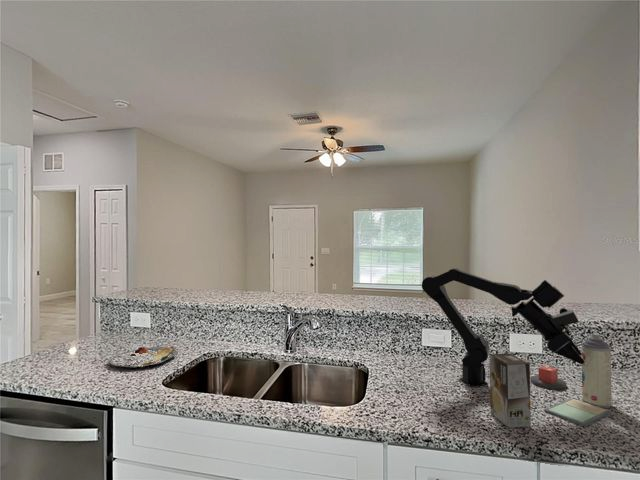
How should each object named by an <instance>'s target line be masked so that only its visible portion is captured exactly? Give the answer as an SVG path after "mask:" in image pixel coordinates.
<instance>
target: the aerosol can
mask: <svg viewBox="0 0 640 480" xmlns="http://www.w3.org/2000/svg"><path fill="white" fill-rule="evenodd" d="M581 344H582V345H581V353H582V354H581V358H582V359H583V360H584V361H585V363H583V364H581V391H582V392H581V394H582V395H581V396H582V400H581V401H582V402H585V403H588V404H591V405H594V406H597V407H600V408H603V409H606V410H609V409H611V408H612V407H613V404H612V403H613V402H612V401H613V399H612V349H611V345H609V344H607V343H606V341H604V340H603V339H602V338H601V336H600V334H599V333H594V332H593V333H591V337H590V338H588V339H586V340H585V341H583V342H582V343H581Z"/></svg>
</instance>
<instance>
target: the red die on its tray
mask: <svg viewBox="0 0 640 480" xmlns="http://www.w3.org/2000/svg"><path fill="white" fill-rule="evenodd" d="M558 377H559V375H558V368H555V367H552V366H547V365H542V366H540V367H538V375H533V376H530V383H531V384H533V385H535V386H537V387H540V388H542V389H547V390H556V391H557V390H559V391H560V390H564V389H566V388H567V382H566V381H565V380H564V379H561V378H558Z"/></svg>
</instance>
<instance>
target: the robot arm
mask: <svg viewBox="0 0 640 480" xmlns="http://www.w3.org/2000/svg"><path fill="white" fill-rule="evenodd" d="M452 282H456V283H457V282H458V283H460V284H463V285H466V286H468V287H471V288H474V289H477V290H479V291H482V292H486V293H488V294H490V295H491V296H493V297H495V298H497V299H498V300H500V301H501V302H504V303H506V304H507V305H511V308H510V310H511V316H512V318H514V317H516V316H517V315H518V314H519V315H520V316H521V317H522V318H523V319H524V320H526V322H528V324H530V325H531V326H532V329H533V330H534V331H537V332H538V333H539V334H540V335H541V336H542V337H543V339H544V340H545V341H546V344H547V346H546V347H547V349H548V350H549V351H550V352H551V353H554V354H556V355H559V356H561V357H563V358H566V359H568V360H571V361H574V362H575V363H576V364H577V363H578V364H580V365H582V364H583V363H585V361H584V360H583V359H582V351H580V349H579V348H578V346H577V345H576V344H575V342H574V341H573V338H572V337H570V330H569V328H568V326H570V325H572V324H573V325H574V324H578V323H579V322H580V321H579V319H578V317H577V315H576V313H575V311H574V310H573V309H569V310H568V309H567V308H565V307H562V308H559V313H556V314H555V315H552V314H551V313H547V312H546V311H545V310H544V308H545V309H546V308H548V309H550V308H552V307H553V306H554V305H555V304H556V303H557V302H559V301H560V300H561V299H563V298H564V297H565V295H564V294H563V293H562V291H560V289H558V288H557V287H556V286H555V285H552V283H550V282H549V281H547V280H546V279H544V280H543V281H542V282H541V283H540V284H538V286H537V287H536V288H535V289H533V290H529V289H522V288H520V286H518V285H516V284H510V283H505V282H499V281H498V282H497V281H492V280H489V279H487V278H483V277H481V276H477V275H475V274H472V273H469V272H466V271H462V270H461V269H459V268H457V267H456V268H455V267H454V268H451V269H448V271H445V272H444V273H441V274H439V275H429V276H427V277H425V278H424V279H422V281H421V289H422V291H424V293H425V294H426V295H427V296H428V297H429V298H430V299H432V300H433V301H434V302H435V303H437V305H438V306H439V308H440V309H441V311H442V312H443V313H444V315H445V316H446V318H447V319H448V320H449V321H450V323H451V325H452V326H453V327H454V329H455V330H456V332H457V333H458V335H459V336H460V337H461V339H462V342H463V344H464V347H465V350H466V353H465V354H464V356H463V358H462V359H461V363H462V364H461V366H462V369H461V370H462V372H461V373H462V375H461V376H462V377H460V378H459V381H462V382H463V383H464V384H466V385H468V386H470V387H478V386H487V385H488V384H489V383H488V382H487V381H486V377H487V375H486V368H485V364H484V363H485V362H486V361H487V359H488V358H489V355H490V352H491V348H490V342H489V341H487V340H486V338H485V337H484V335H483V333H479V334H477V333H476V332H475V331H473V329H472V327H471V326H470V325H469V323H468V322H467V320H465V318H464V317H463V315H462V314H461V312H460V311H459V310H458V308H457V307H456V305H455V304H454V302H453V301H452V300H451V298H450V297H449V295H448V292H447V289H446V286H445V285H447V284H449V283H452ZM521 301H522V302H521ZM525 301H527V302H525ZM534 301H535V302H534ZM518 303H519V304H518ZM512 305H513V306H512ZM514 305H516V306H514ZM541 307H542V308H541Z"/></svg>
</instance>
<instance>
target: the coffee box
mask: <svg viewBox="0 0 640 480" xmlns="http://www.w3.org/2000/svg"><path fill="white" fill-rule="evenodd" d="M488 358H489V397H490V398H489V399H490V400H489V401H490V405H489V407H490V408H489V409H490V411H489V412H490V414H492V415H493V417H495V418H496V419H497V420H499V421H500V422H501V423H502V424H503V425H505V426H506V427H507V428H510V429H511V428H530V427H532V423H531V422H532V416H531V415H532V414H531V413H532V412H531V410H532V408H531V407H532V406H531V405H532V403H531V363H530V362H527V361H526V360H524V359H522V358H520V357H518V356H516V355H513V354H511V353H493V354H492V353H491V354H490V353H489V356H488Z"/></svg>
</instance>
